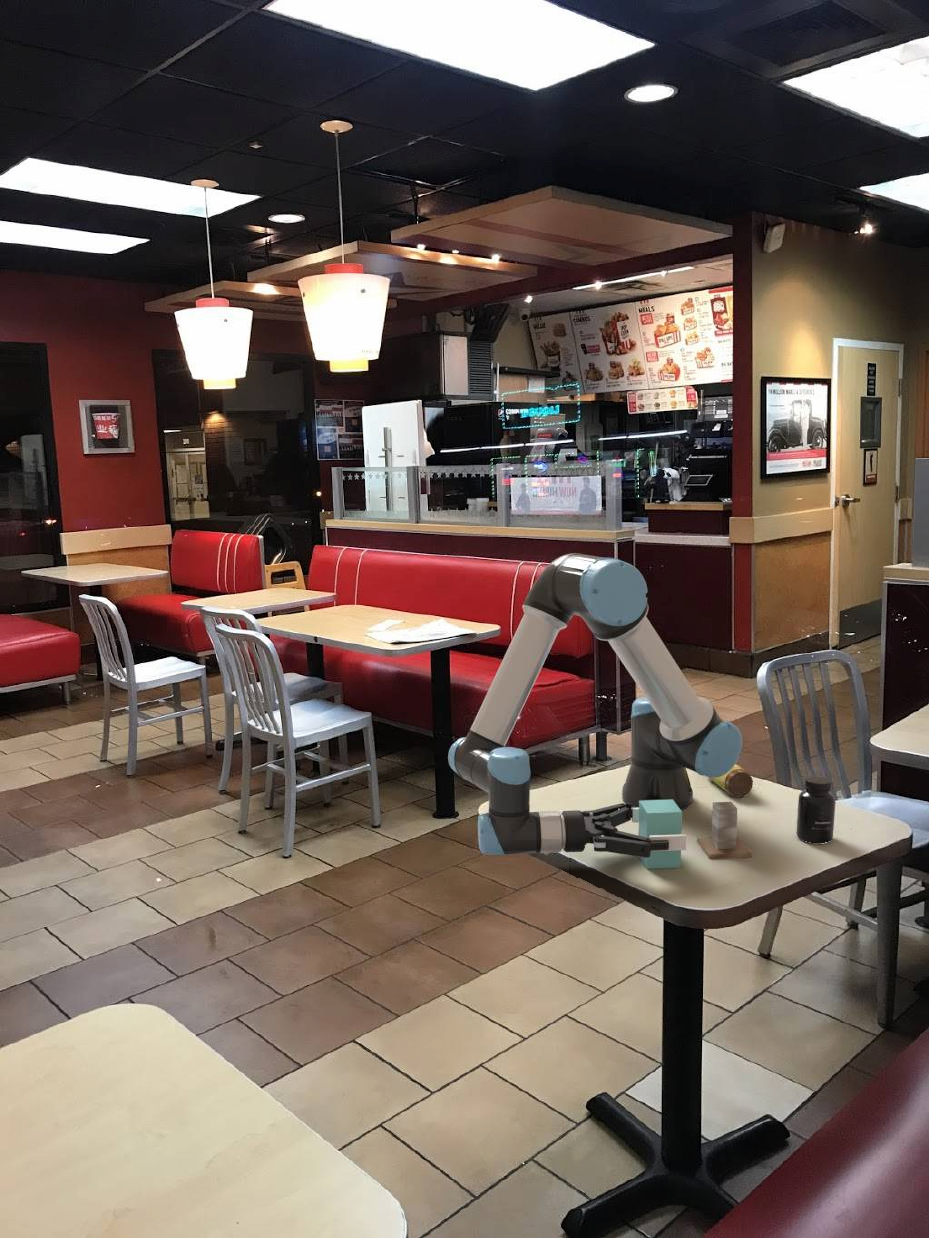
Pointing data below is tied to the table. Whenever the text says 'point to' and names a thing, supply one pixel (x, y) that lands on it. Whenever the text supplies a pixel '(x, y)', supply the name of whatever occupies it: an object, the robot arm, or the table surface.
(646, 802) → the tall teal pillar
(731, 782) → the sauce bottle
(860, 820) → the table surface
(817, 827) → the supplement bottle
